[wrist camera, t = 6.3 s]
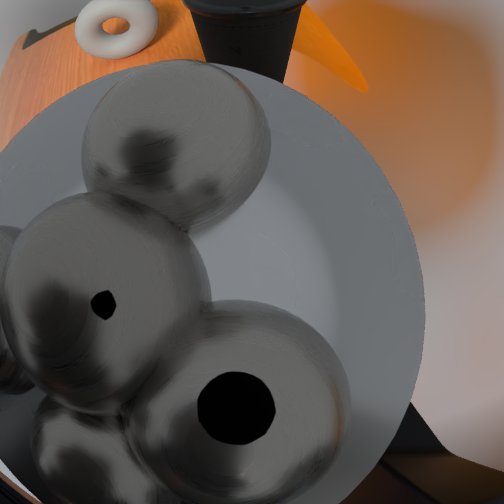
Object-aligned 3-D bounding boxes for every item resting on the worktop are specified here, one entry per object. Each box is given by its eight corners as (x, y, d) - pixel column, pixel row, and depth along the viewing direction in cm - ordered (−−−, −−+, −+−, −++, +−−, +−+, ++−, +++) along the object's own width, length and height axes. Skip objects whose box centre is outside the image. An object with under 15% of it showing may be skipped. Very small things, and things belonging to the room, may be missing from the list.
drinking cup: (209, 86, 27) (177, -97, 7) (286, 83, 27) (305, -102, 7) (206, 147, 25) (149, -78, 5) (294, 144, 25) (337, -84, 5)
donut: (89, 74, 28) (57, 19, 18) (95, 58, 29) (66, 4, 19) (166, 52, 28) (146, -14, 18) (167, 37, 29) (150, -25, 19)
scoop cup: (220, 406, 13) (114, 631, 1) (137, 310, 14) (-116, 256, 2) (317, 321, 14) (570, 302, 2) (229, 227, 15) (165, -35, 3)
